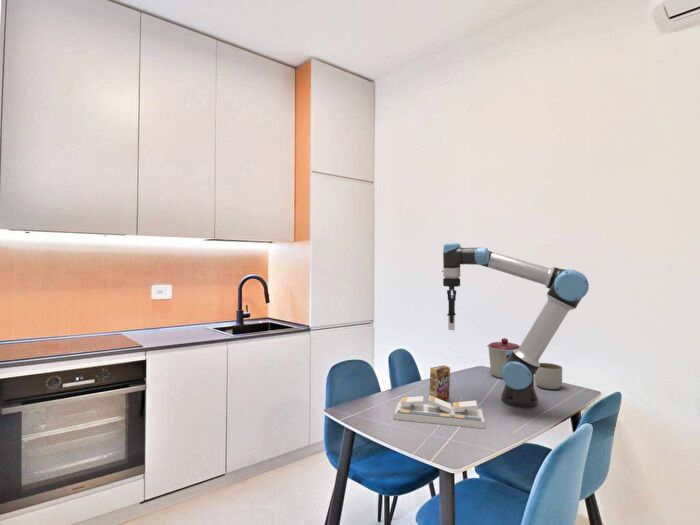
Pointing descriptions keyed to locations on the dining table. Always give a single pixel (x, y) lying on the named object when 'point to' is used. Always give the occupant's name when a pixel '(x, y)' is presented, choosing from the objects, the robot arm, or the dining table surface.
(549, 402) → the dining table surface
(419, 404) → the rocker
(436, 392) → the candy box
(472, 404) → the rocker
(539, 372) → the planter
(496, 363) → the canister
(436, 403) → the rocker
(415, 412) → the switch board
